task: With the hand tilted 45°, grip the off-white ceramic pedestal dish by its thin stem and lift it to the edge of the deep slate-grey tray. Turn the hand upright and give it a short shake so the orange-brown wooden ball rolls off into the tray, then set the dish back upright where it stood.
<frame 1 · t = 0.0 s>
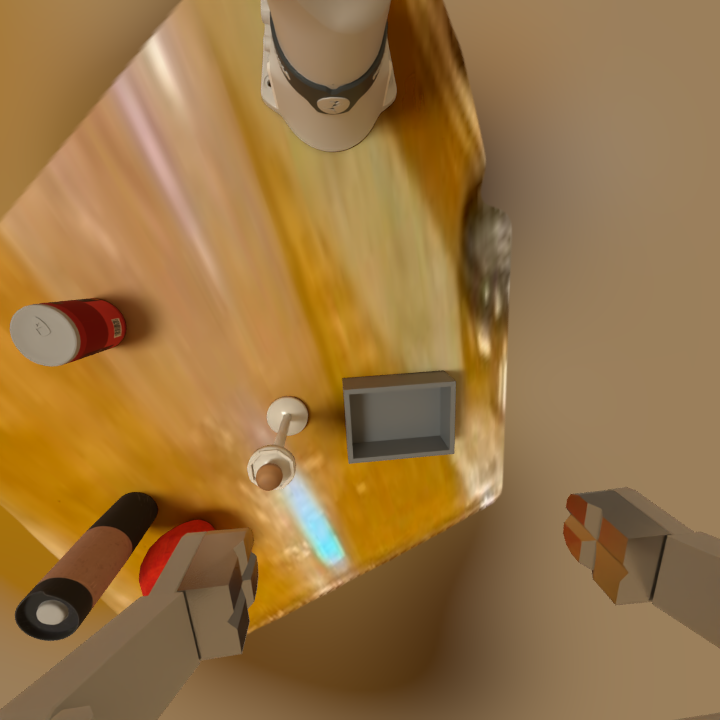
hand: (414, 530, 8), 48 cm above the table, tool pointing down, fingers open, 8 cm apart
travel mug: (138, 508, 61), on the table
pedestal dish: (288, 414, 58), on the table, touching ball
tray: (394, 408, 60), on the table
canned food: (102, 323, 52), on the table
ball: (269, 476, 41), point 18 cm above the table, touching pedestal dish
apple: (199, 529, 63), on the table
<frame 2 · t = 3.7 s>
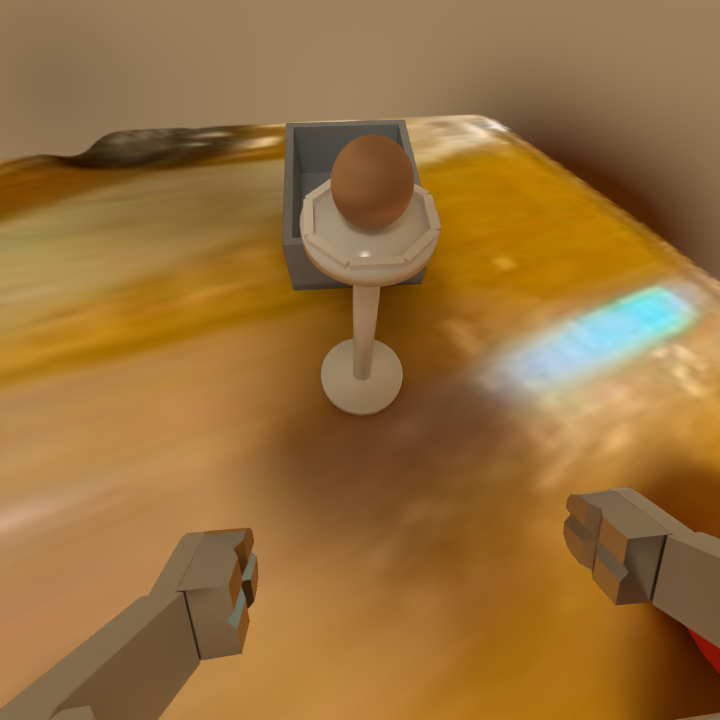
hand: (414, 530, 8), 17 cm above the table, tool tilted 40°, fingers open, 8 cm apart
pedestal dish: (361, 377, 29), on the table, touching ball
tray: (352, 224, 38), on the table
ball: (372, 184, 13), point 18 cm above the table, touching pedestal dish
apple: (715, 617, 22), on the table
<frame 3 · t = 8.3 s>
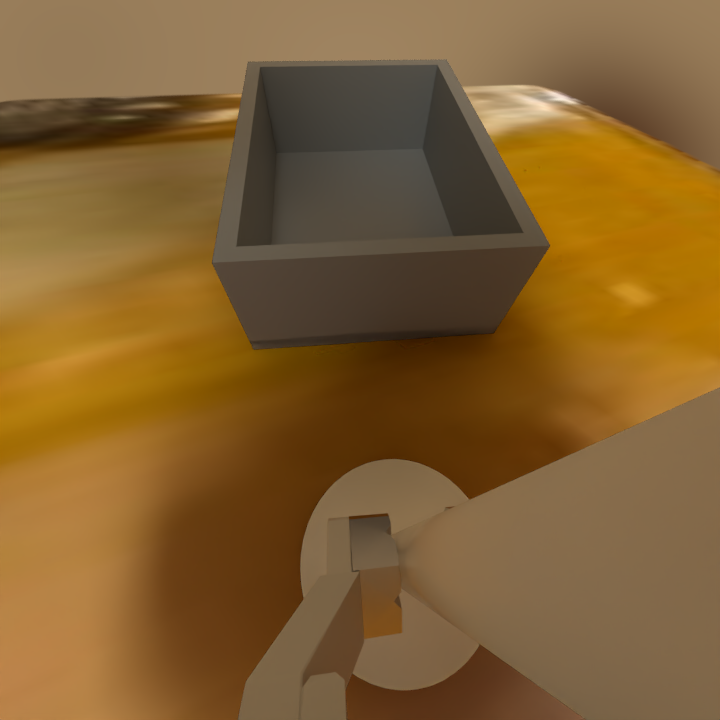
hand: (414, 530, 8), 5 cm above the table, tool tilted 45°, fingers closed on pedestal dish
pedestal dish: (394, 557, 13), on the table, touching ball, gripper
tray: (360, 229, 22), on the table
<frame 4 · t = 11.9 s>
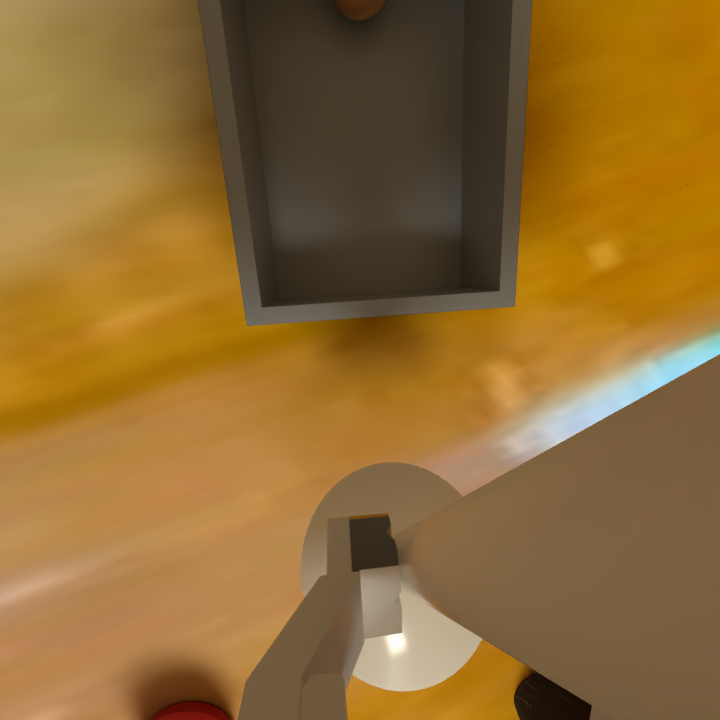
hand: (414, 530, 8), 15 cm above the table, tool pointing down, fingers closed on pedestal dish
travel mug: (547, 691, 33), on the table
pedestal dish: (394, 559, 13), point 11 cm above the table, tilted 46°, touching gripper
tray: (362, 150, 19), on the table
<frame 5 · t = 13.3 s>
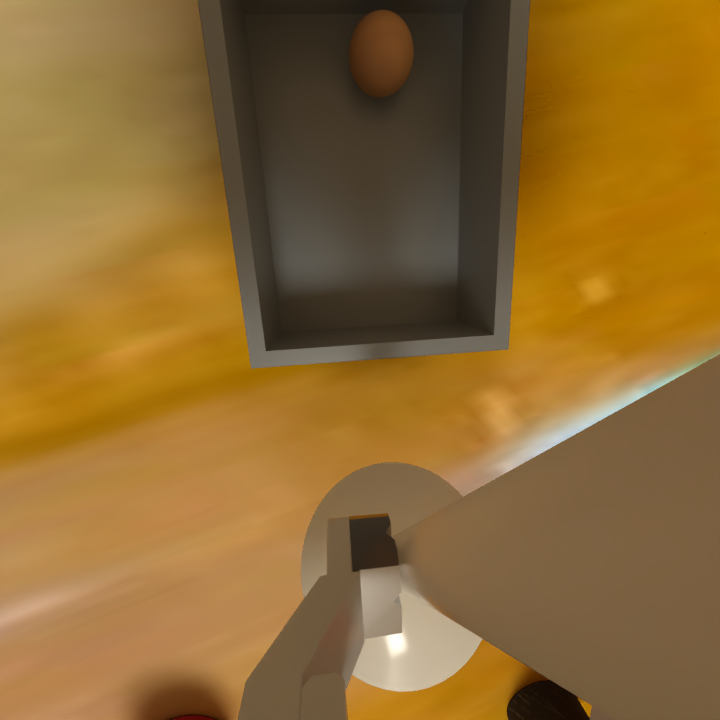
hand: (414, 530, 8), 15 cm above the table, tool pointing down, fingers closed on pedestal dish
travel mug: (539, 703, 34), on the table
pedestal dish: (394, 559, 13), point 12 cm above the table, tilted 46°, touching gripper
tray: (362, 190, 20), on the table
ball: (380, 56, 16), point 2 cm above the table, tilted 139°, touching tray
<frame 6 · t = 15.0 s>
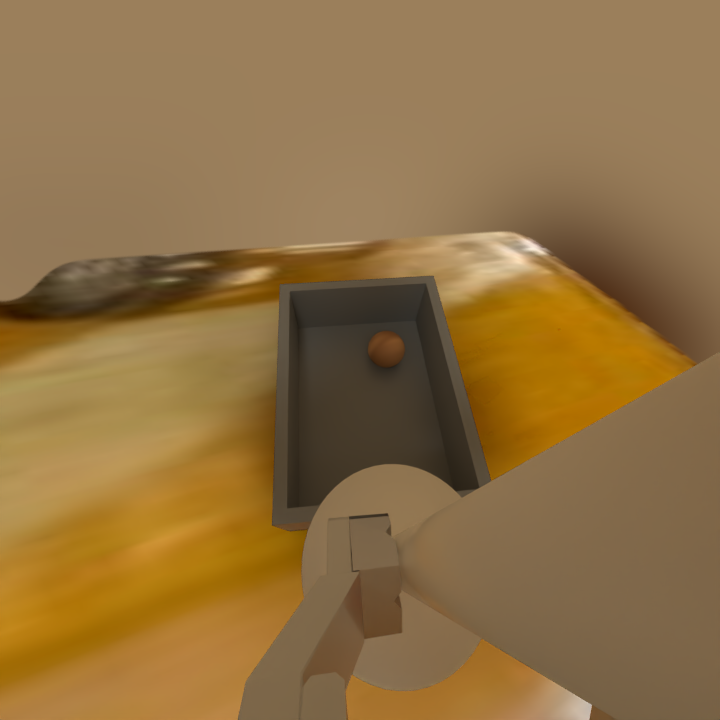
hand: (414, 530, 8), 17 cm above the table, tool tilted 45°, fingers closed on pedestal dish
pedestal dish: (394, 560, 13), point 12 cm above the table, touching gripper
tray: (366, 406, 29), on the table
ball: (386, 349, 29), point 2 cm above the table, tilted 83°, touching tray
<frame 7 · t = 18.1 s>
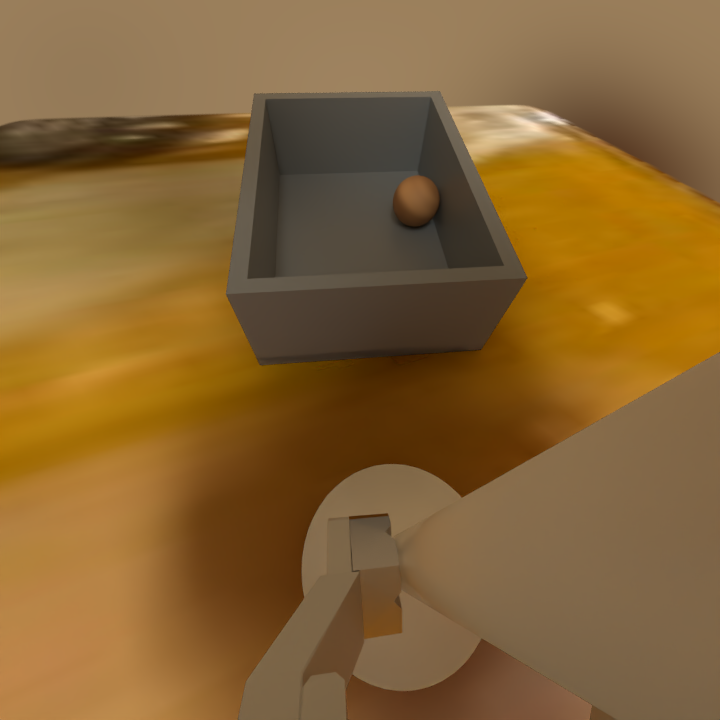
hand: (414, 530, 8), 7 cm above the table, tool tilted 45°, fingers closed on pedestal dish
pedestal dish: (394, 560, 13), point 1 cm above the table, touching gripper
tray: (358, 250, 24), on the table
ball: (415, 201, 23), point 2 cm above the table, tilted 35°, touching tray
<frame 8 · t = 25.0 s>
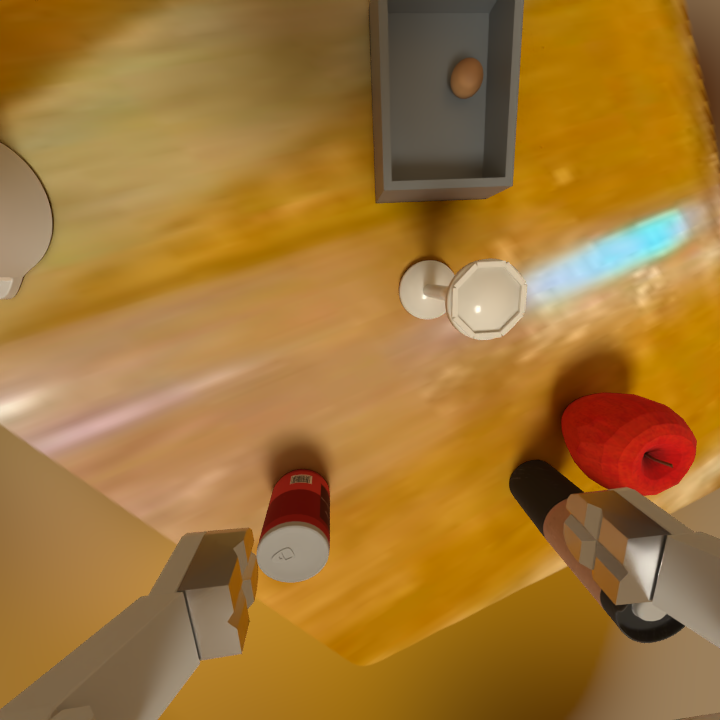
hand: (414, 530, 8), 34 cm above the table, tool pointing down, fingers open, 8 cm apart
travel mug: (531, 480, 50), on the table
pedestal dish: (426, 290, 41), on the table
tray: (431, 111, 36), on the table
canned food: (301, 490, 47), on the table
ball: (466, 78, 34), point 2 cm above the table, tilted 10°, touching tray
apple: (576, 415, 48), on the table
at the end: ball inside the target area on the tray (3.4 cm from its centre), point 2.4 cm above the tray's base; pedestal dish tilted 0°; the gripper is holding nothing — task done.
